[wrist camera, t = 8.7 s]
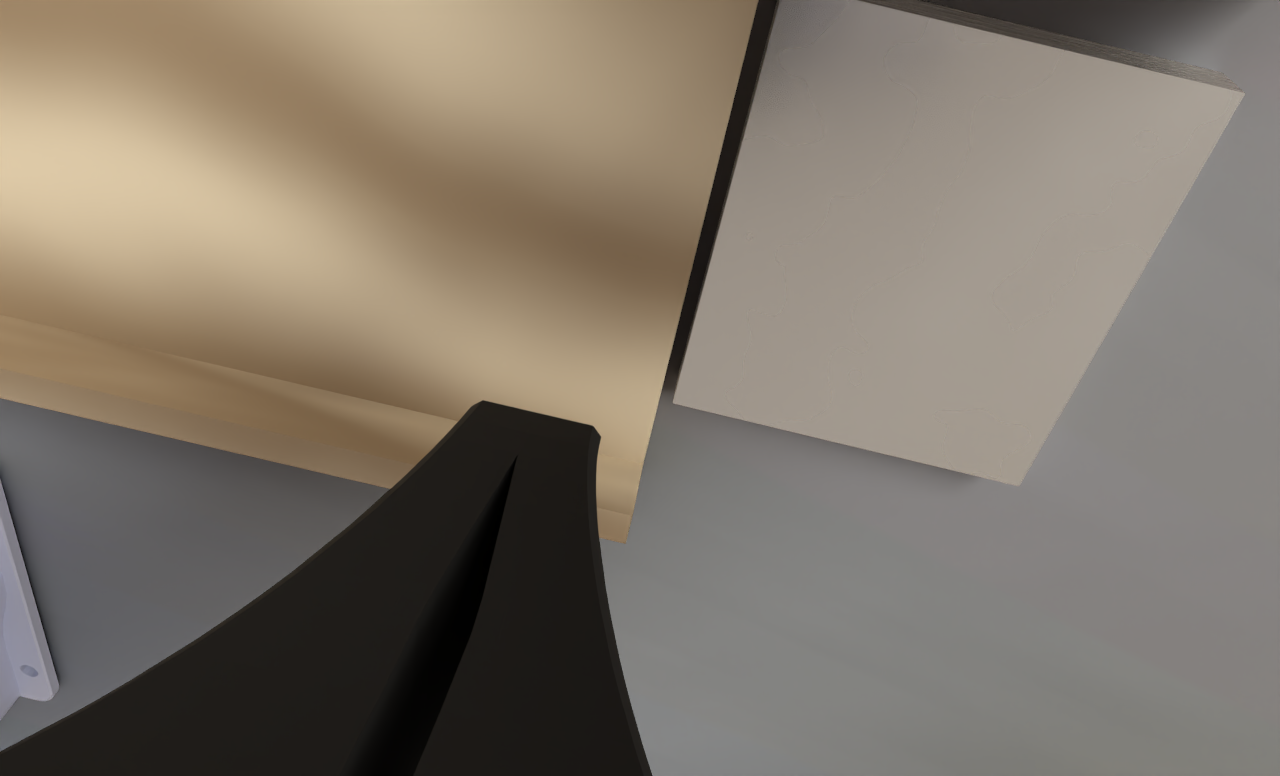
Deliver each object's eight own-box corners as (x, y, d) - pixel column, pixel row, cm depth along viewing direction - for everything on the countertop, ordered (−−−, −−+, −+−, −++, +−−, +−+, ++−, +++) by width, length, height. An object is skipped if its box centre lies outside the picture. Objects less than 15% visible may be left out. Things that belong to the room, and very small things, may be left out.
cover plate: (1006, 439, 20) (1018, 486, 19) (680, 361, 20) (672, 403, 19) (1211, 62, 16) (1245, 92, 14) (786, -39, 16) (785, -17, 14)
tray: (640, 473, 21) (625, 543, 20) (-99, 301, 21) (-180, 356, 20) (819, -249, 13) (821, -241, 12) (-362, -521, 13) (-539, -555, 12)
